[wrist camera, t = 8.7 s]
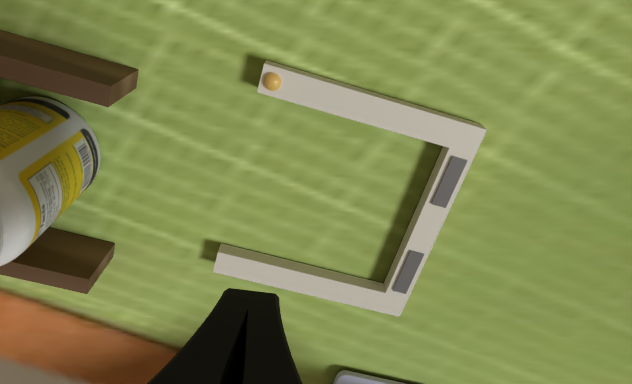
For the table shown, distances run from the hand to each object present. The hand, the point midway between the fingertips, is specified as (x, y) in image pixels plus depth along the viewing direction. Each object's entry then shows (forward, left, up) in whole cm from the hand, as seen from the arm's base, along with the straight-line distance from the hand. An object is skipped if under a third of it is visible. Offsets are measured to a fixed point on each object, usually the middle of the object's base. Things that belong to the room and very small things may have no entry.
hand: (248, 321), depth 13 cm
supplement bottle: (-2, +10, -11) cm, 15 cm away
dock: (-1, -2, -10) cm, 11 cm away
